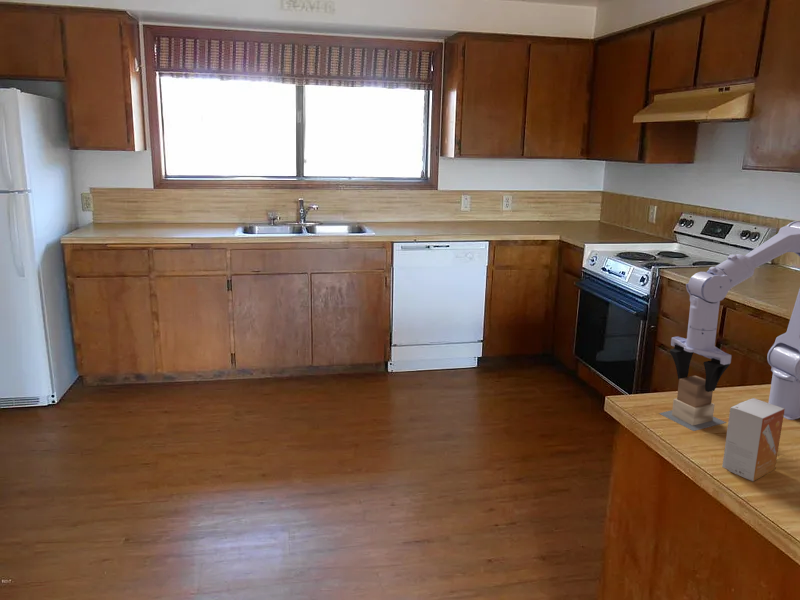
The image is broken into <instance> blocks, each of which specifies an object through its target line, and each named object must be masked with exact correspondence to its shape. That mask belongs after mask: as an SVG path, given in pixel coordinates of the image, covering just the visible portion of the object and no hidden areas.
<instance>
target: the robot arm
mask: <svg viewBox="0 0 800 600" xmlns="http://www.w3.org/2000/svg"><path fill="white" fill-rule="evenodd" d="M786 253H794V254H796V255H797V256H798V257H799V258H800V220H794V221H791V222H789V223H788V224H786V225H784V226H782V227H780V228H779V230H778V232H777V234H775V235H773V236H772V237H770V238H769V239H768V240H766V241H764V242H763V243H761V244H759V245H758V246H757V247H755V248H754V249H752V250H751V251H749V252H748V253H746V254H741V253H736V254H734V253H732V254H730V255H728V256H727V259H725V260H724V261H722V262H719V263H718V264H717V265H715V266H710V267H709V268H708V270H707V271H698V272H696V273H694V274H693V275H692V276H691V277H690V278H689V280H688V283H685V288H686V292H687V293H688V296H689V302H690V303H689V304H690V306H689V315H688V324H687V332H686V338H684V337H681V336H673V337H671V339H670V346H672V347H673V348H671V349H670V350H669V353H670V355H671V357H672V359H673V361H674V365H675V369H676V375H677V380H679V379H681V378H686V377H689V372H690V364H691V360H692V358H693V355H694V354H697V355H699V356H701V357H702V356H703V357H704V358H707V359H710V360H706V361H703V367H704V372H705V380H706V382H705V391H707V392H711V391H713V392H714V391H715V390H716V388H717V385H718V383H719V381H720V379H721V377H722V375H723V374H724V373H725V371H726V370H727V369H728V368H729V367H730V364H731V363H732V354H729V353H727V352H725V351H724V350H722V349H720V348H718V347H717V346H715V345H716V337H717V329H718V321H719V320H718V319H719V311H720V310H719V309H720V304H721V301H723V300H724V299H725V298H726V297H727V295H728V293H729V291H730V290H732V289H733V288H734V287H736V286H737V285H739V284H741V283H743V282H744V281H746V280H748V279H749V278H752V277H753V276H754V273H755V269H756V268H758V267H761V266H763V265H764V264H767V263H768V262H770V261H773V259H774V260H775V259H777V258H778V257H780V256H782V255H784V254H786ZM793 306H794V307H793V309H792V312H791V315H790V319H789V322H788V325H787V328H786V329H787V330H786V332H784V333H782V334H780V335H778V336H777V337H776V338H775V341H774V343H773V344H772V346H771V347H770V349H769V350H768V352H767V357H766V360H767V363H768V365H770V367H771V369H770V371H771V372H772V376H771V377H772V378H771V382H770V390H769V397H768V403H770V404H773V405H775V406H778V407H781V408H784V409H785V410H784V417H783V419H786V420H788V421H789V420H790V421H793V420H798V419H800V288H799V289H798V293H797V295H796V299H795V302H794V305H793Z"/></svg>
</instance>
